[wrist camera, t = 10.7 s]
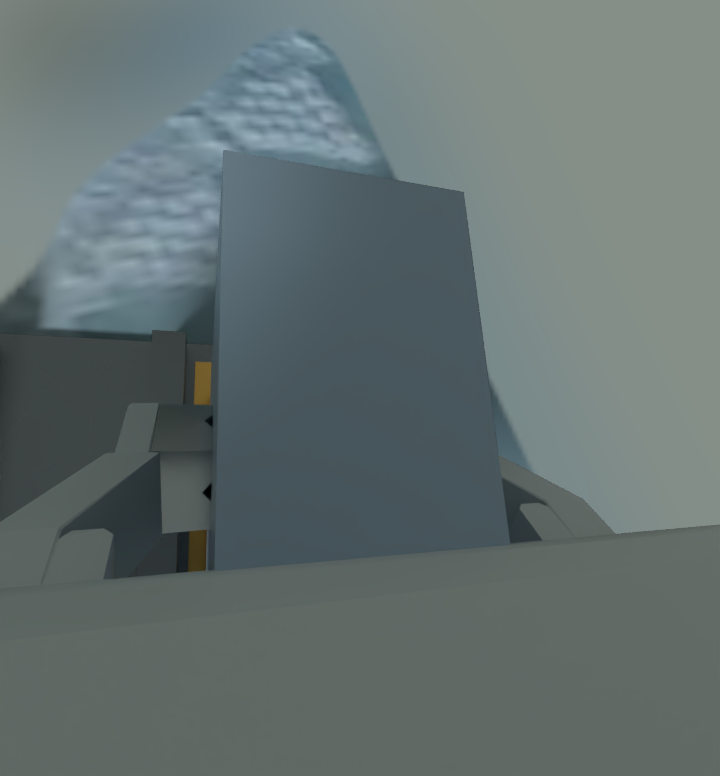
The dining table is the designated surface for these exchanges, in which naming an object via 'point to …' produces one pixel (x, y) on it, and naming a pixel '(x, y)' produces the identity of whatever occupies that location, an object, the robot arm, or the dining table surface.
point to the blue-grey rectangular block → (346, 372)
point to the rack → (91, 415)
